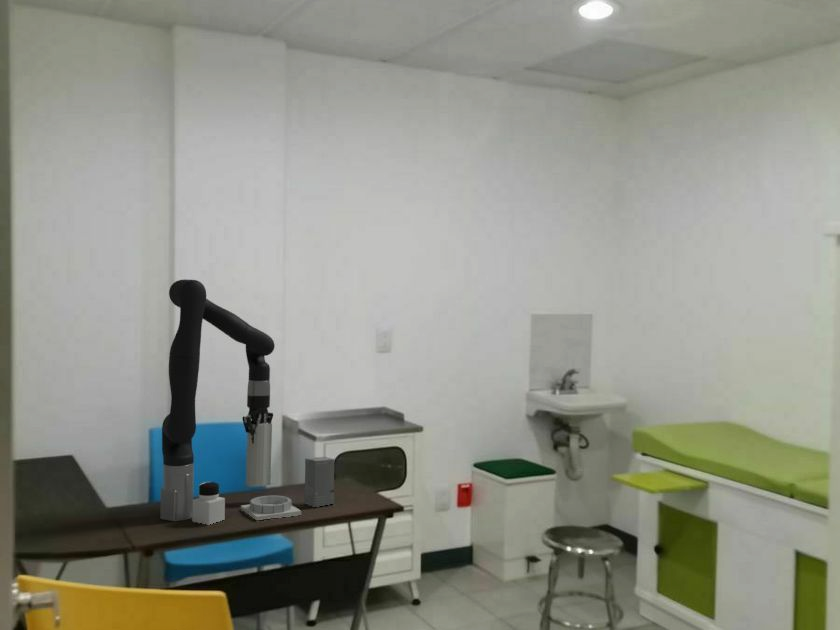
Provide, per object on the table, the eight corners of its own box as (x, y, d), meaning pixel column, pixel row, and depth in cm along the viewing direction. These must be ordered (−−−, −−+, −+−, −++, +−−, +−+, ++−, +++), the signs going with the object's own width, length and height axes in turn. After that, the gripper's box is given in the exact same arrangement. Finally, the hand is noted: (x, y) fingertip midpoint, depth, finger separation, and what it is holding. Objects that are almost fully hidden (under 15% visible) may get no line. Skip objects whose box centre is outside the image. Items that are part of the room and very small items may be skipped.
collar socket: (256, 521, 260) (256, 508, 260) (240, 510, 273) (241, 497, 272) (301, 515, 267) (301, 503, 267) (283, 504, 280) (284, 492, 280)
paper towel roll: (242, 485, 280) (243, 422, 279) (253, 482, 285) (255, 420, 285) (259, 488, 277) (260, 425, 276) (270, 485, 282) (272, 422, 281)
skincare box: (314, 508, 276) (314, 461, 276) (302, 504, 282) (303, 457, 281) (335, 504, 281) (336, 458, 281) (323, 500, 287) (324, 454, 286)
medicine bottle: (225, 520, 260) (225, 482, 260) (208, 525, 254) (209, 486, 254) (208, 516, 264) (208, 479, 264) (191, 522, 258) (192, 483, 257)
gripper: (263, 390, 288) (262, 440, 289) (236, 394, 276) (234, 446, 276) (280, 392, 284) (279, 442, 285) (253, 396, 272) (252, 448, 273)
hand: (257, 444), depth 281 cm, fingers closed on paper towel roll, 3 cm apart
